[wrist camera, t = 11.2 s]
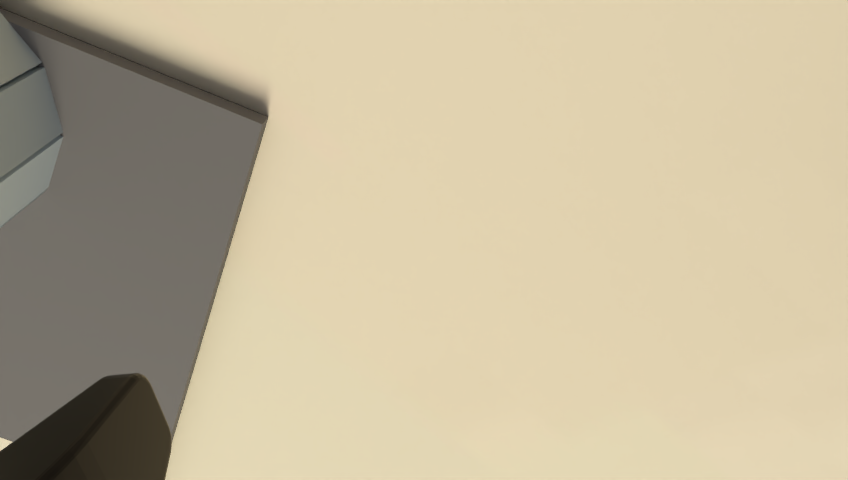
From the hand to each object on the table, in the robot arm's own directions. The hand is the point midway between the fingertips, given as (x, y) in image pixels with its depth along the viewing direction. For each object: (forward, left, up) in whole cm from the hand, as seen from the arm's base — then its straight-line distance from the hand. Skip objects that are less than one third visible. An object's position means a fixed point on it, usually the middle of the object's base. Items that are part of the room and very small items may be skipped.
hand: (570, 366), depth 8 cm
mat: (+12, +12, -12) cm, 21 cm away
